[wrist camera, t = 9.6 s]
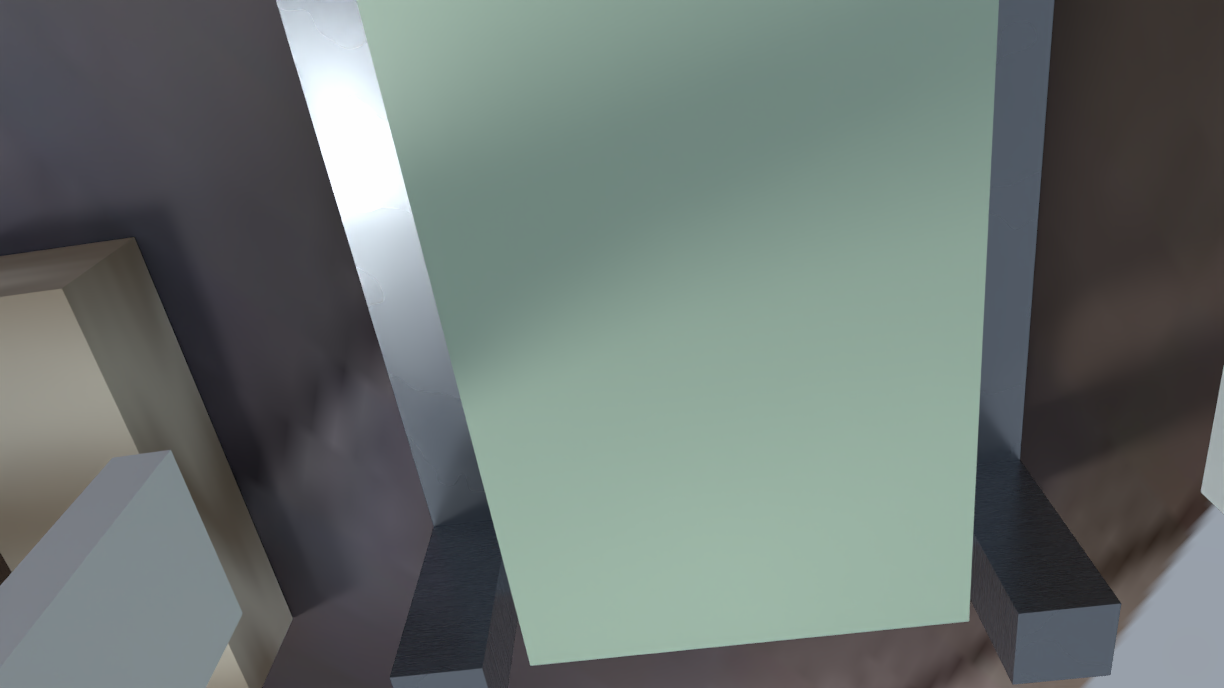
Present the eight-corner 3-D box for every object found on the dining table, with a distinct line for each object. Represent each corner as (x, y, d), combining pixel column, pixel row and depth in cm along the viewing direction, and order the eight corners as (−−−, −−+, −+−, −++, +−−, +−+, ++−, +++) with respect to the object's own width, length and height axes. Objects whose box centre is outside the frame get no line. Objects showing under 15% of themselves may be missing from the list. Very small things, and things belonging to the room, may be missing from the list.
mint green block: (911, 501, 19) (969, 621, 16) (544, 542, 20) (530, 665, 16) (916, -126, 14) (1005, -131, 10) (409, -43, 14) (349, -25, 11)
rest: (292, 618, 26) (255, 701, 23) (150, 633, 26) (97, 717, 24) (134, 237, 21) (61, 288, 18) (-43, 262, 21) (-139, 315, 18)
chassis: (999, 514, 24) (1107, 691, 19) (461, 573, 25) (418, 756, 20) (1059, -419, 15) (1302, -589, 10) (217, -263, 16) (19, -339, 11)
